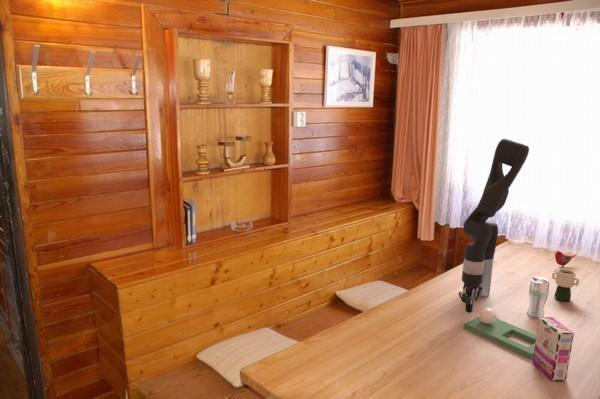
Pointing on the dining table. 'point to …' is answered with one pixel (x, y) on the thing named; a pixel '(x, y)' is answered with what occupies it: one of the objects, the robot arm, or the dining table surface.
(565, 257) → the decorative bird figurine
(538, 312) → the beer glass
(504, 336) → the putting mat
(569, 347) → the candy bar box
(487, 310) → the ball
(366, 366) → the dining table surface
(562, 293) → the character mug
